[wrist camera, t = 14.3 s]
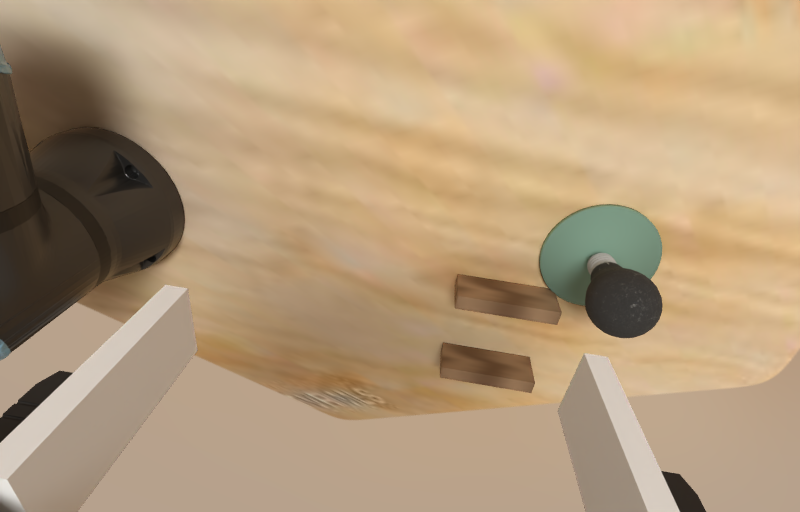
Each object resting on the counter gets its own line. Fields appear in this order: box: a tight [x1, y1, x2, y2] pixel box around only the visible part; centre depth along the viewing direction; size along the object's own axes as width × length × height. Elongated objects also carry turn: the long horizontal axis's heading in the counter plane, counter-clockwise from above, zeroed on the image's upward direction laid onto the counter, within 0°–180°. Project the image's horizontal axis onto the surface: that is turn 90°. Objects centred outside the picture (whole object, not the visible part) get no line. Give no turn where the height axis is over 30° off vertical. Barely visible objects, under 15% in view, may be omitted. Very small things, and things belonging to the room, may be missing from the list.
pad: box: [539, 204, 662, 306], centre depth 41 cm, size 11×11×1 cm
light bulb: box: [585, 253, 662, 338], centre depth 37 cm, size 6×6×10 cm
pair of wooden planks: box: [440, 274, 562, 393], centre depth 45 cm, size 10×11×4 cm
